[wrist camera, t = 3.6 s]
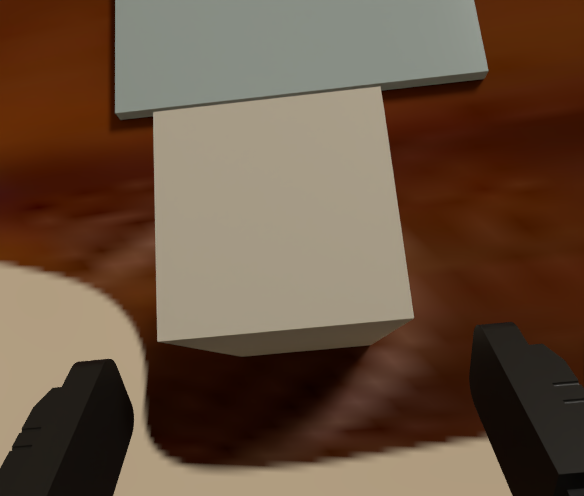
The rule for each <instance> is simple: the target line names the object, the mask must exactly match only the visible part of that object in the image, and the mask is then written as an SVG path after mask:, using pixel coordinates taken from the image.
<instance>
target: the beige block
mask: <svg viewBox="0 0 584 496" xmlns="http://www.w3.org/2000/svg"><path fill="white" fill-rule="evenodd" d="M153 133H154V187H155V240H156V294H157V342H162V343H167V344H173V345H179V346H184V347H190V348H195V349H201V350H207V351H212V352H218V353H223V354H229V355H235V356H240V357H245V356H256V355H267V354H278V353H289V352H300V351H312V350H323V349H334V348H345V347H356V346H367V345H372V344H373V343H375V342H376V341H378V340H380V339H381V338H383V337H384V336H386V335H388V334H389V333H391V332H392V331H394V330H396V329H397V328H399V327H401V326H402V325H404V324H405V323H407V322H409V321H410V320H412V319H413V318H414V314H413V307H412V300H411V293H410V286H409V279H408V273H407V266H406V259H405V252H404V245H403V238H402V231H401V224H400V217H399V210H398V203H397V196H396V189H395V183H394V176H393V169H392V162H391V155H390V148H389V141H388V134H387V127H386V120H385V113H384V106H383V99H382V93H381V86H379V87H370V88H361V89H353V90H344V91H335V92H326V93H317V94H308V95H299V96H291V97H282V98H273V99H264V100H255V101H246V102H238V103H229V104H220V105H211V106H202V107H193V108H184V109H176V110H167V111H158V112H153Z"/></svg>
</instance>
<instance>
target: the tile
mask: <svg viewBox="0 0 584 496" xmlns="http://www.w3.org/2000/svg"><path fill="white" fill-rule="evenodd" d="M487 73H488V67H487V62H486V57H485V52H484V47H483V42H482V38H481V33H480V28H479V23H478V18H477V13H476V8H475V3H474V0H115V114H116V115H117V116H118V117H119V119H120V120H125V119H134V118H143V117H151V116H153V112H158V111H167V110H176V109H184V108H193V107H202V106H211V105H220V104H229V103H238V102H246V101H255V100H264V99H273V98H282V97H291V96H299V95H308V94H317V93H326V92H335V91H344V90H353V89H361V88H370V87H379V86H381V91H382V90H391V89H400V88H409V87H418V86H427V85H435V84H444V83H453V82H462V81H471V80H480V79H484V78H485V76H486V74H487Z"/></svg>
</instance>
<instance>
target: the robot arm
mask: <svg viewBox="0 0 584 496" xmlns="http://www.w3.org/2000/svg"><path fill="white" fill-rule="evenodd" d="M469 380H470V389H471V395H472V399H473V402H474V405H475V407H476V410H477V412H478V414H479V417H480V419H481V422H482V424H483V426H484V429H485V431H486V433H487V436H488V438H489V441H490V443H491V445H492V448H493V450H494V452H495V455H496V457H497V460H498V462H499V464H500V467H501V469H502V472H503V474H504V476H505V479H506V480H507V483H508V486H509V488H510V491H511V493H512V495H513V496H584V388H583V387H582V385H579V383H578V379H577V378H576V376H575V375H574V374H573V372H572V371H571V369H570V368H569V366H568V365H567V363H566V362H565V360H563V359H562V358H561V357H559V356H558V355H557V354H555V353H554V352H553V351H551V350H550V349H549V348H547V347H546V346H545V345H543V344H535V345H528V343H527V342H526V340H525V338H524V337H523V335H522V334H521V332H520V330H519V329H518V327H517V326H516V325H515V324H514V323H513V322H506V323H495V324H485V325H477V326H476V327H475V329H474V335H473V345H472V355H471V365H470V376H469ZM133 426H134V413H133V407H132V404H131V401H130V399H129V396H128V394H127V391H126V389H125V386H124V384H123V381H122V378H121V376H120V373H119V371H118V368H117V366H116V364H115V362H114V361H113V360H112V359H103V360H93V361H82V362H77V363H75V364H74V365H73V366H72V368H71V370H70V372H69V374H68V376H67V378H66V380H65V382H64V384H63V386H62V387H58V388H52V389H51V390H50V391H49V392H48V393H47V394H46V395H45V396H44V397H43V398H42V399H41V400H40V401H39V402H38V403H37V404H36V405H35V406H34V407H33V409H32V411H31V413H30V415H29V416H28V418H27V420H26V422H25V424H24V426H23V427H22V433H19V435H18V437H17V438H16V441H15V442H14V444H13V446H12V451H10V452H9V453H8V455H7V457H6V459H5V460H4V462H3V464H2V466H1V468H0V496H113V494H114V491H115V487H116V484H117V481H118V478H119V474H120V471H121V468H122V465H123V461H124V458H125V455H126V452H127V449H128V445H129V442H130V439H131V436H132V432H133Z"/></svg>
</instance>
